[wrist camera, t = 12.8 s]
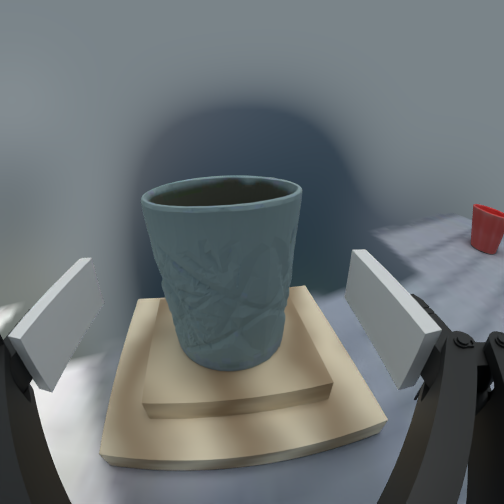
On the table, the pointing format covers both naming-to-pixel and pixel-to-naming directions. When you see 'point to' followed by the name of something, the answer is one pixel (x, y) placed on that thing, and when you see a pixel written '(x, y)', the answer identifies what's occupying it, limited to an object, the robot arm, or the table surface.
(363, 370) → the table surface
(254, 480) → the table surface
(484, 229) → the flower pot
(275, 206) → the blue-grey embossed cup
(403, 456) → the robot arm
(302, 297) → the stepped square base
